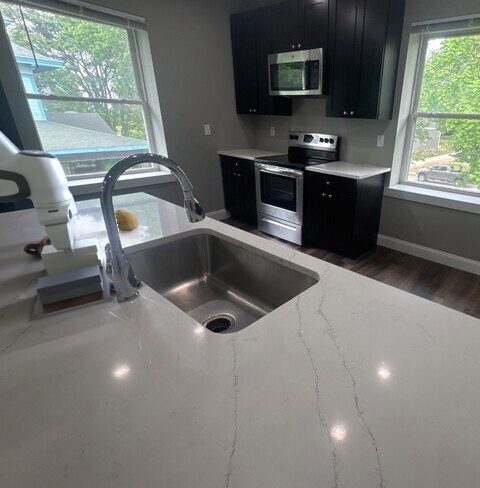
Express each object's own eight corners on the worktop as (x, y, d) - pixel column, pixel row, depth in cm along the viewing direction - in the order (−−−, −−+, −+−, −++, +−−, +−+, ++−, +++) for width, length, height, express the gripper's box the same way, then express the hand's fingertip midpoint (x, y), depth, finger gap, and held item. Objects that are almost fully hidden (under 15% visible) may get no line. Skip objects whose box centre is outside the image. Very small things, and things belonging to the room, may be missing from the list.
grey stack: (41, 306, 76) (34, 289, 74) (45, 292, 82) (38, 276, 79) (104, 290, 83) (99, 275, 81) (104, 279, 88) (99, 264, 86)
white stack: (47, 277, 88) (41, 263, 86) (50, 267, 93) (45, 253, 91) (102, 266, 95) (98, 252, 93) (102, 257, 100) (98, 244, 98)
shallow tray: (33, 322, 73) (30, 317, 72) (49, 266, 96) (47, 262, 96) (111, 302, 81) (109, 297, 80) (108, 255, 105) (107, 251, 104)
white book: (43, 262, 86) (40, 254, 85) (46, 253, 91) (43, 245, 90) (98, 252, 93) (96, 244, 92) (98, 244, 98) (96, 237, 97)
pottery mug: (66, 247, 109) (69, 231, 106) (73, 266, 106) (77, 250, 102) (20, 250, 100) (22, 232, 96) (26, 271, 96) (28, 253, 92)
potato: (119, 238, 117) (113, 219, 114) (109, 228, 126) (104, 210, 122) (146, 232, 124) (141, 214, 120) (135, 222, 132) (131, 205, 129)
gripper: (47, 200, 92) (62, 241, 98) (36, 222, 77) (55, 268, 83) (73, 198, 95) (86, 237, 101) (68, 217, 80) (84, 262, 86)
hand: (72, 251), depth 92 cm, fingers closed on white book, 6 cm apart
